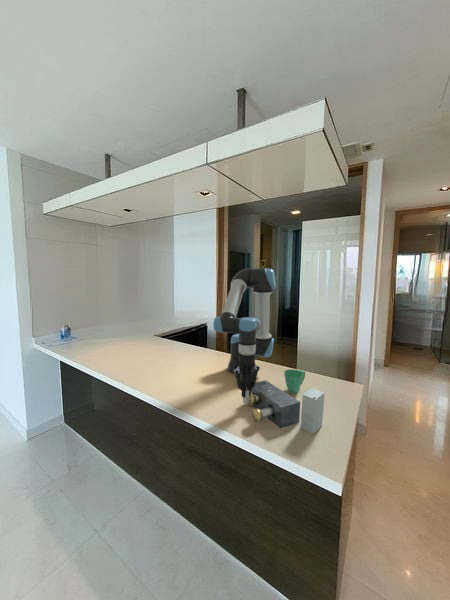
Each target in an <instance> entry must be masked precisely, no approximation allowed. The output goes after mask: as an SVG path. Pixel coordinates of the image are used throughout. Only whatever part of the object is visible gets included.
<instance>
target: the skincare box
mask: <svg viewBox="0 0 450 600" xmlns="http://www.w3.org/2000/svg"><path fill="white" fill-rule="evenodd" d="M301 401H302V402H301V405H302V406H301V414H300V415H301V416H300V418H301V419H300V429H302V430H303V431H306V432H308V433H310V434H312V435H315V434H316V433H317V432H318V430H319V429H320V428H321V427H322V426H323V421H324V419H323V418H324V405H325V403H324V402H325V392H324V391H321V390H318V389H316V388H314V387H311V388H310V389H308V390H306V392H304V393H303V394H302V400H301Z"/></svg>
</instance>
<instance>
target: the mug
mask: <svg viewBox="0 0 450 600" xmlns="http://www.w3.org/2000/svg"><path fill="white" fill-rule="evenodd" d="M283 373H284V381H285V384H286V387H287V391H288V392H289V393H292V394H297V393H298V392H299V390H300V388H301V386H302V385H303V382H304V380H305V377H306V371H305V370H304V369H299V370H298V369H293V368H291V369H286V370H285V371H284V372H283Z"/></svg>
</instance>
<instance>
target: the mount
mask: <svg viewBox="0 0 450 600" xmlns="http://www.w3.org/2000/svg"><path fill="white" fill-rule="evenodd" d="M251 389H252V390H251V391H250V394H251V393H252V394H254V395H255V394H257V395H258V396H259V400H258V402H256V404H255V405H252V407H254V409H256V408H259V409H264V408H268V407H271V406H273V407H274V408H275V415H272V416H269V417H266V418H267V419H268V420H270V422H272V423H273V424H274V425H276V427H278V428H279V429H283V428H286V427H287V428H288V427H290V426H293V425H295V424H298V423H300V418H301V416H300V415H301V402H300V400H298V399H296V398H295V397H293V396H291V395H290V394H288V393H287V392H286V391H283V390H282V389H280V388H279V387H277V386H276V385H274V384H273V383H271V382H269V381H268V380H259V381H256V382H255V386H254V388H251Z"/></svg>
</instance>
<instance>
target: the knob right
mask: <svg viewBox="0 0 450 600" xmlns="http://www.w3.org/2000/svg"><path fill="white" fill-rule="evenodd" d="M272 415H275V408H274V407H273V406H271V407H268V408H264V409H259V408H252V409H251V418H252V420H253V422H254V423H260V422H262V421H263V419H265V418H267V417H269V416H272Z"/></svg>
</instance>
